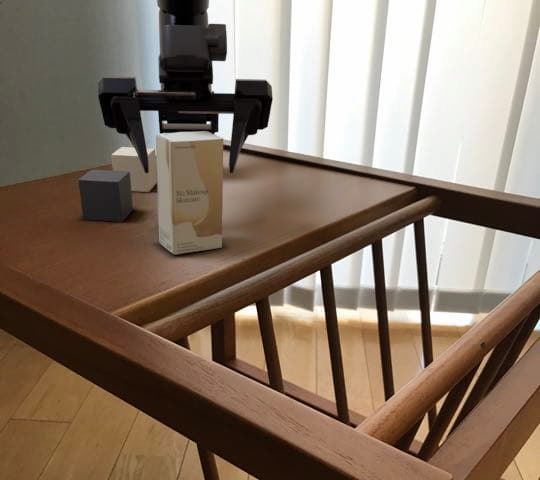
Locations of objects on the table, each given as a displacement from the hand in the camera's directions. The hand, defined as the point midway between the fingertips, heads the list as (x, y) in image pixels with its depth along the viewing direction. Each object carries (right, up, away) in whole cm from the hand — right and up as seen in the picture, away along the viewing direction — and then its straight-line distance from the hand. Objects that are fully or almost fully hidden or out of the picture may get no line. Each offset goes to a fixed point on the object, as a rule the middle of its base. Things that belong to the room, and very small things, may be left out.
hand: (189, 171), depth 68 cm
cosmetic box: (0, -8, +4) cm, 9 cm away
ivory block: (-11, +5, +24) cm, 27 cm away
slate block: (-12, -2, +12) cm, 17 cm away
